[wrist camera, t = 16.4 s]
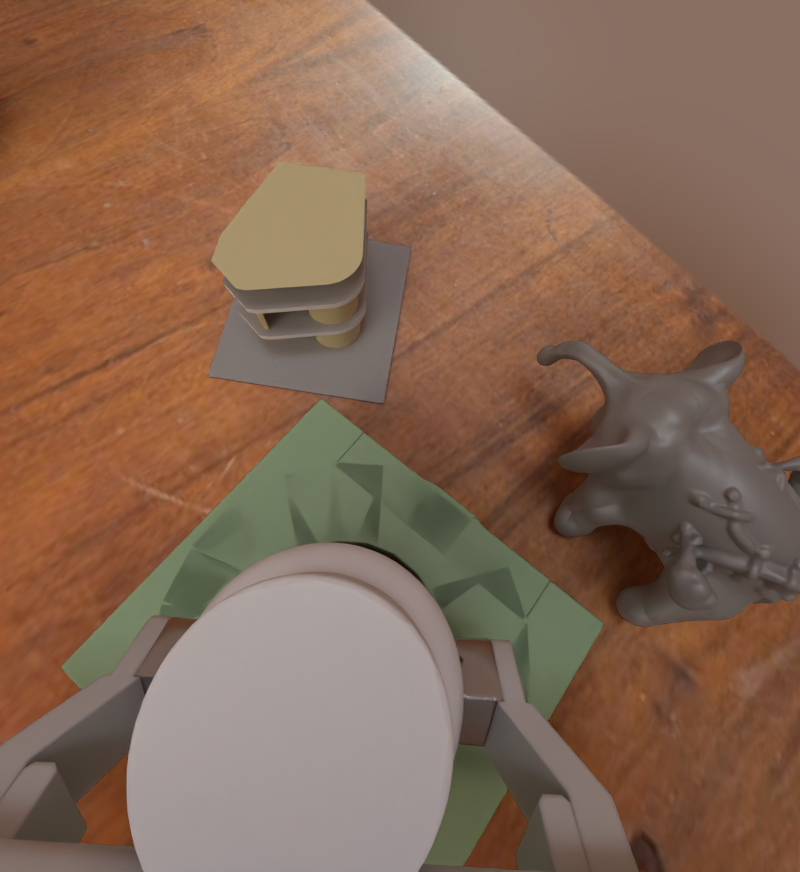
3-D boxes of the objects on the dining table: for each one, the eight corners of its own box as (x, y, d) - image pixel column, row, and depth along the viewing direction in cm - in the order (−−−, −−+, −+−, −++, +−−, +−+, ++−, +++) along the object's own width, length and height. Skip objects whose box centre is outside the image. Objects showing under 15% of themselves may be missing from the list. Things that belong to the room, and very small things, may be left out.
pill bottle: (246, 716, 15) (-35, 1003, 5) (288, 545, 17) (150, 494, 7) (413, 745, 15) (484, 1097, 5) (435, 570, 17) (519, 557, 7)
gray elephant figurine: (673, 661, 18) (876, 719, 10) (439, 495, 20) (472, 446, 12) (749, 487, 20) (953, 437, 13) (536, 356, 22) (610, 248, 15)
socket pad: (572, 613, 18) (607, 620, 15) (374, 937, 14) (372, 1024, 12) (331, 420, 21) (323, 395, 18) (110, 655, 17) (55, 671, 14)
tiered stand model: (259, 224, 24) (226, 127, 19) (411, 247, 24) (419, 156, 19) (207, 376, 21) (150, 310, 16) (383, 404, 21) (383, 346, 16)
